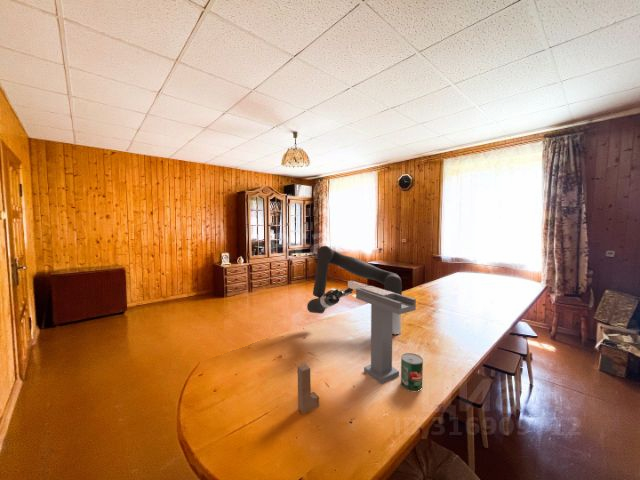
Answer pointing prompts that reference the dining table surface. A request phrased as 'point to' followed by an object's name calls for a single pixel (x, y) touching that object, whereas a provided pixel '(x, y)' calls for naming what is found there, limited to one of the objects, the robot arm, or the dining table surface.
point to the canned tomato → (411, 371)
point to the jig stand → (383, 331)
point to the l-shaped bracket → (306, 390)
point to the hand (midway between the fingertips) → (345, 289)
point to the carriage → (371, 289)
